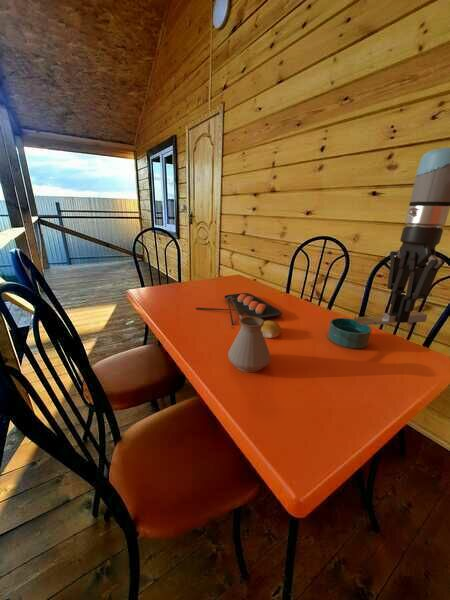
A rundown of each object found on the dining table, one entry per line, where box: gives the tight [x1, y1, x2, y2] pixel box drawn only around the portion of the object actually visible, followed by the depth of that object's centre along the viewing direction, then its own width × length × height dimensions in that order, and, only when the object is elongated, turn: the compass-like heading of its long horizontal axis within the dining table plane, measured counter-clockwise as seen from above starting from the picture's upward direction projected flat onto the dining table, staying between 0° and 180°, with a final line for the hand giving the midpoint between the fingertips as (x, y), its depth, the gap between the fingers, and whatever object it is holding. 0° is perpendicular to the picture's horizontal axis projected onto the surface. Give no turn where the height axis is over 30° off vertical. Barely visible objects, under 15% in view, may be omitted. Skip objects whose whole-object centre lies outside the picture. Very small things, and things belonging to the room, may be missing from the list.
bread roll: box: [261, 320, 282, 339], centre depth 87 cm, size 8×9×4 cm
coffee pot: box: [226, 296, 271, 373], centre depth 71 cm, size 21×12×15 cm, turn 20°
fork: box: [353, 311, 428, 326], centre depth 66 cm, size 19×3×2 cm, turn 98°
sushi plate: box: [195, 292, 283, 326], centre depth 107 cm, size 29×30×4 cm
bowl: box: [327, 317, 372, 350], centre depth 84 cm, size 12×12×6 cm
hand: (397, 319), depth 66 cm, fingers closed on fork, 2 cm apart
